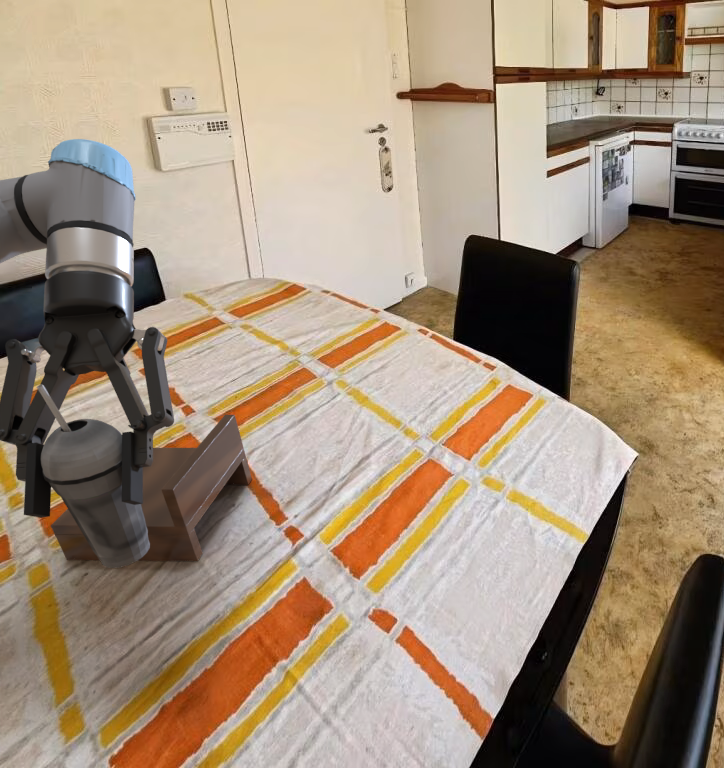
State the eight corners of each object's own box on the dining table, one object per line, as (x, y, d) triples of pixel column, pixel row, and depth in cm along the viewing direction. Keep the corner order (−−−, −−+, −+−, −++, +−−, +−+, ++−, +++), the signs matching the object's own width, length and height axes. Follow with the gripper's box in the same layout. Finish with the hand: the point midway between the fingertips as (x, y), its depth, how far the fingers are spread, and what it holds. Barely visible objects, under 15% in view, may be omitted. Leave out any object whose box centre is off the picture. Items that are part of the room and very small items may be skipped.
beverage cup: (169, 558, 63) (106, 386, 54) (86, 589, 60) (3, 411, 50) (159, 519, 69) (100, 356, 59) (83, 545, 65) (7, 377, 56)
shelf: (66, 560, 84) (32, 488, 78) (141, 478, 99) (117, 414, 94) (197, 561, 83) (172, 489, 77) (252, 479, 99) (234, 414, 93)
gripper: (207, 291, 69) (214, 497, 63) (2, 308, 65) (-12, 529, 59) (183, 258, 62) (188, 487, 56) (-48, 275, 58) (-71, 522, 52)
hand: (85, 508), depth 57 cm, fingers closed on beverage cup, 7 cm apart
